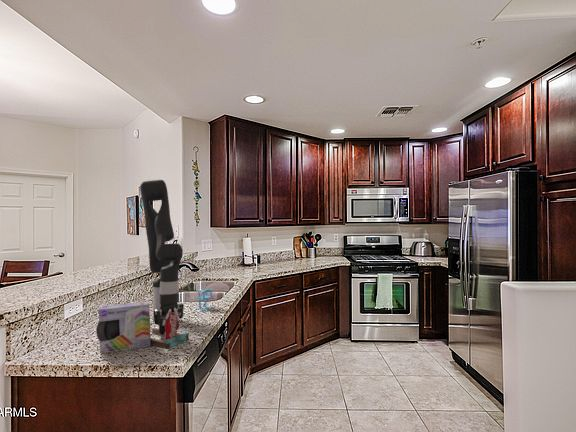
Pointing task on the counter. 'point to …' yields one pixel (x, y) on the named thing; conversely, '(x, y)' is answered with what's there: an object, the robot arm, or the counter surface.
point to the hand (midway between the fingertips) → (169, 331)
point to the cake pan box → (124, 326)
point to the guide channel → (171, 341)
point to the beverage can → (170, 327)
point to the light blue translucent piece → (204, 298)
